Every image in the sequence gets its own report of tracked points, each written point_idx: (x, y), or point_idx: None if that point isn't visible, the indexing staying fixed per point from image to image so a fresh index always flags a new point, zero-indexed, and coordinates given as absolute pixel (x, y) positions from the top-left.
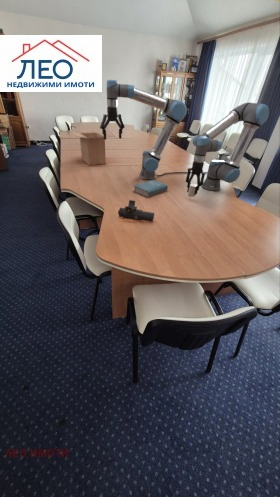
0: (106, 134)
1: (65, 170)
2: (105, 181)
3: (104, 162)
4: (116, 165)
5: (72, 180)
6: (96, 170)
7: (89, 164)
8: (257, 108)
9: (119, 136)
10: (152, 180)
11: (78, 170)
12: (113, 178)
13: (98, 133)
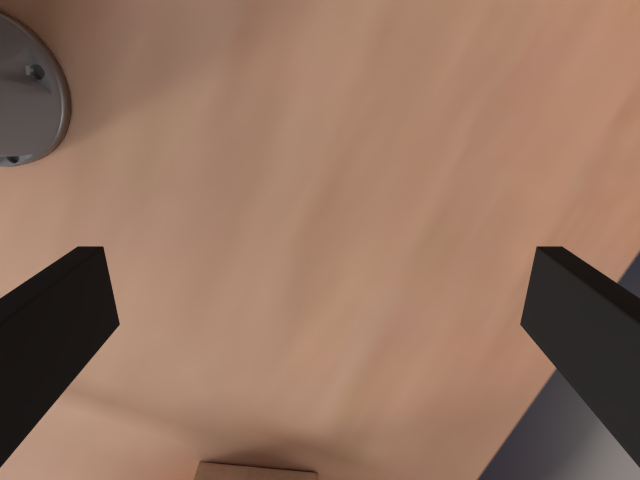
0: None
1: (495, 443)
2: (377, 161)
3: (205, 470)
4: (138, 414)
5: None
6: (319, 379)
7: (313, 475)
8: None
9: (94, 318)
10: None
11: (425, 417)
12: (288, 192)
13: None
